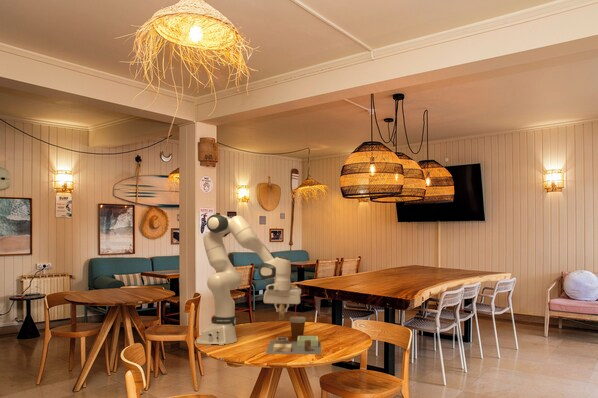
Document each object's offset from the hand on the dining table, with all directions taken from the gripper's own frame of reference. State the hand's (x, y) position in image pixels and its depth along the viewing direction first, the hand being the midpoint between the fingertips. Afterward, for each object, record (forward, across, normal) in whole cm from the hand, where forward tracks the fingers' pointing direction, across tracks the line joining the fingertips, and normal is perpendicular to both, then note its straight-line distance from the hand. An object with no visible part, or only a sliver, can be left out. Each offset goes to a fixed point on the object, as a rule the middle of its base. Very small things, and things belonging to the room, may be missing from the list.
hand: (281, 311), depth 251 cm
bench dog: (+17, -15, +12) cm, 26 cm away
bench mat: (+18, -8, +6) cm, 20 cm away
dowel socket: (+17, -1, 0) cm, 17 cm away
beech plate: (+17, -2, +12) cm, 21 cm away
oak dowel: (+4, 0, 0) cm, 4 cm away
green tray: (+17, -15, 0) cm, 22 cm away
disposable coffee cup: (+18, -9, -17) cm, 26 cm away
